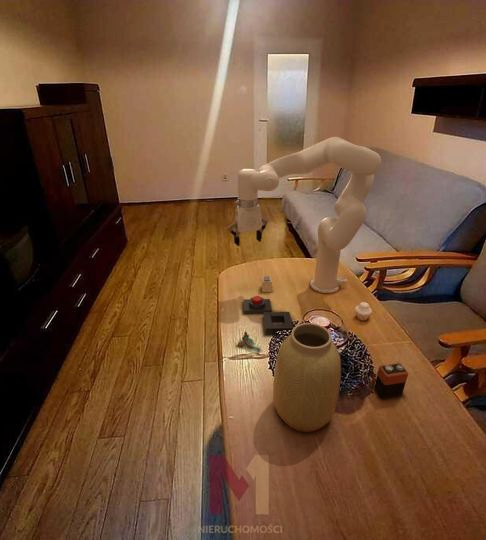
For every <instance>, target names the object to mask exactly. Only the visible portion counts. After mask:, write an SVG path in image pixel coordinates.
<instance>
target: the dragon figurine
mask: <svg viewBox="0 0 486 540" xmlns="http://www.w3.org/2000/svg"><path fill="white" fill-rule="evenodd" d="M245 344H246V345H247V346H248V347H250V348H252V349H255V350H257V351H256V353H257V354H259V351H260V348H259V347H256V346H254V345H256V343H255V342H254V340H253V339H252V338H251V337H250V334H249V333H248V332H247V330H245V331H244V332H243V336H242V337H241V340H239V341H238V342H237V344H236V346H237V347H243V346H244V345H245Z"/></svg>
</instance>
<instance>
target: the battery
mask: <svg viewBox="0 0 486 540" xmlns="http://www.w3.org/2000/svg"><path fill="white" fill-rule="evenodd" d="M408 376H409V372H408V370H407V369H406V367H404V365H403V364H402V363H401V362H397V363H391V364H383V365H379V366H378V369H377V374H376V379H375V382H374V387H373V389H374V390H375V392H376V393H377V394H378V397H380V399H388V398H393V397H401V396H402V395H403V393H404V389H405V386H406V383H407V380H408Z"/></svg>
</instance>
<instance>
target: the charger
mask: <svg viewBox="0 0 486 540" xmlns="http://www.w3.org/2000/svg"><path fill="white" fill-rule="evenodd" d="M272 287H273V279H272V277H271V276H269V275H268V276H267V275H265V276H262V277H261V292H262V293H272V290H273V288H272Z"/></svg>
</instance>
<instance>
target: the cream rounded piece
mask: <svg viewBox="0 0 486 540" xmlns="http://www.w3.org/2000/svg"><path fill="white" fill-rule="evenodd" d="M354 313H355V315H356V317H357V319H358V320H360V321H367V319H369V318H370V317H371V315H372V313H373V310H372V308H371V307H370V304H369V303H367V302H365V301H364V302H363V301H362V302H360V303H359V304H358V305H356V306H355V308H354Z"/></svg>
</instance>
